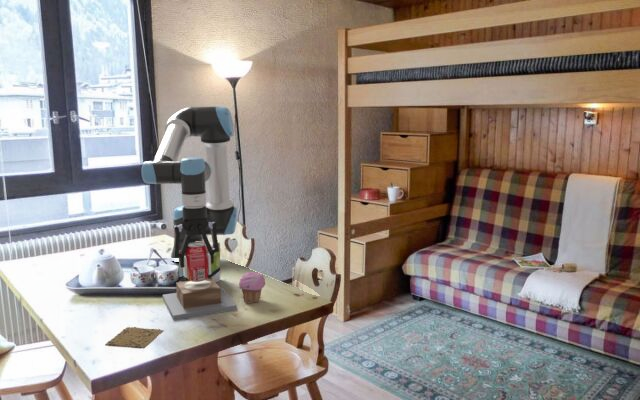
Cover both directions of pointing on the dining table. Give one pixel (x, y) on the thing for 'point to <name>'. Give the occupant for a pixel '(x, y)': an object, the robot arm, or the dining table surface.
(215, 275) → the tea box
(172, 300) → the base board
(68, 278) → the dining table surface
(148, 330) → the brown flat square slab
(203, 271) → the soda can
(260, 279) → the cupcake
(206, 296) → the block
